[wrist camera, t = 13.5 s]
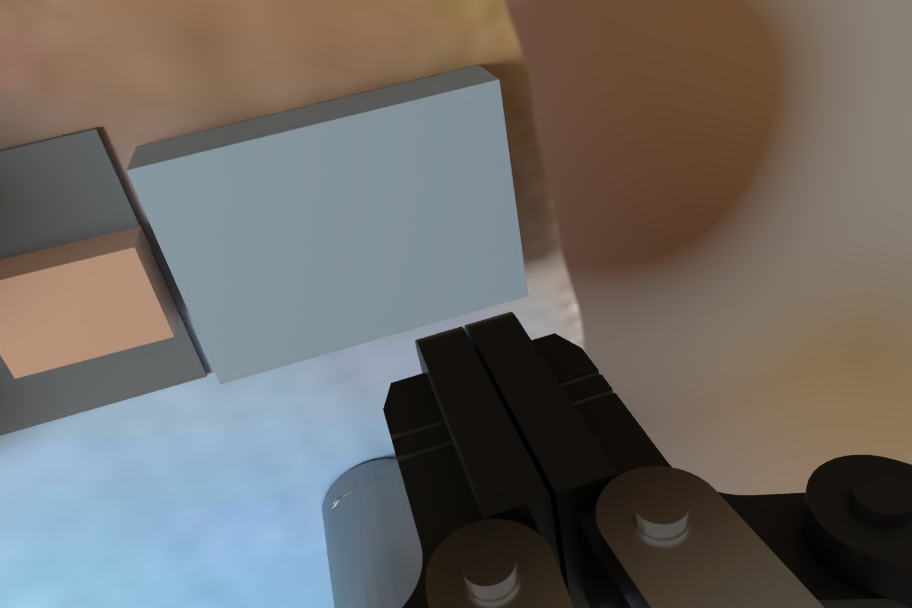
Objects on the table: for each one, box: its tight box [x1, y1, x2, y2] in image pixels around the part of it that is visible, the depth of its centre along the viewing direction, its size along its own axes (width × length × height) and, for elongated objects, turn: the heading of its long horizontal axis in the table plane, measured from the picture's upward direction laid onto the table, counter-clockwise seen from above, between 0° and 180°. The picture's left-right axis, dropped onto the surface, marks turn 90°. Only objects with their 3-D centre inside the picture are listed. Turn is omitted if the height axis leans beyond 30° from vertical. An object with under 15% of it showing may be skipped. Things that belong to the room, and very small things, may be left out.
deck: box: [126, 65, 528, 384], centre depth 43 cm, size 20×14×4 cm
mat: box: [0, 128, 207, 435], centre depth 42 cm, size 14×17×1 cm
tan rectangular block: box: [0, 226, 178, 379], centre depth 41 cm, size 9×6×3 cm, turn 99°
